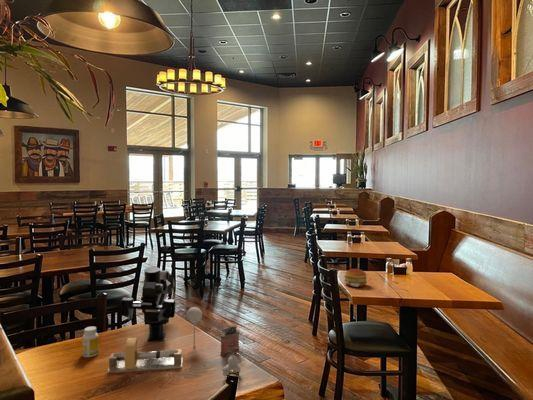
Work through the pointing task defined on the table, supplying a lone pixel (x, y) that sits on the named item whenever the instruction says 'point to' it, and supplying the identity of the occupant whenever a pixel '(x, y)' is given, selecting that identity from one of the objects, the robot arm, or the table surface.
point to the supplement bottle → (90, 342)
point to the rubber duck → (231, 365)
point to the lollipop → (194, 317)
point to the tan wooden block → (130, 353)
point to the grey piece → (147, 361)
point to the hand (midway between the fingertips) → (144, 319)
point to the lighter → (229, 341)
